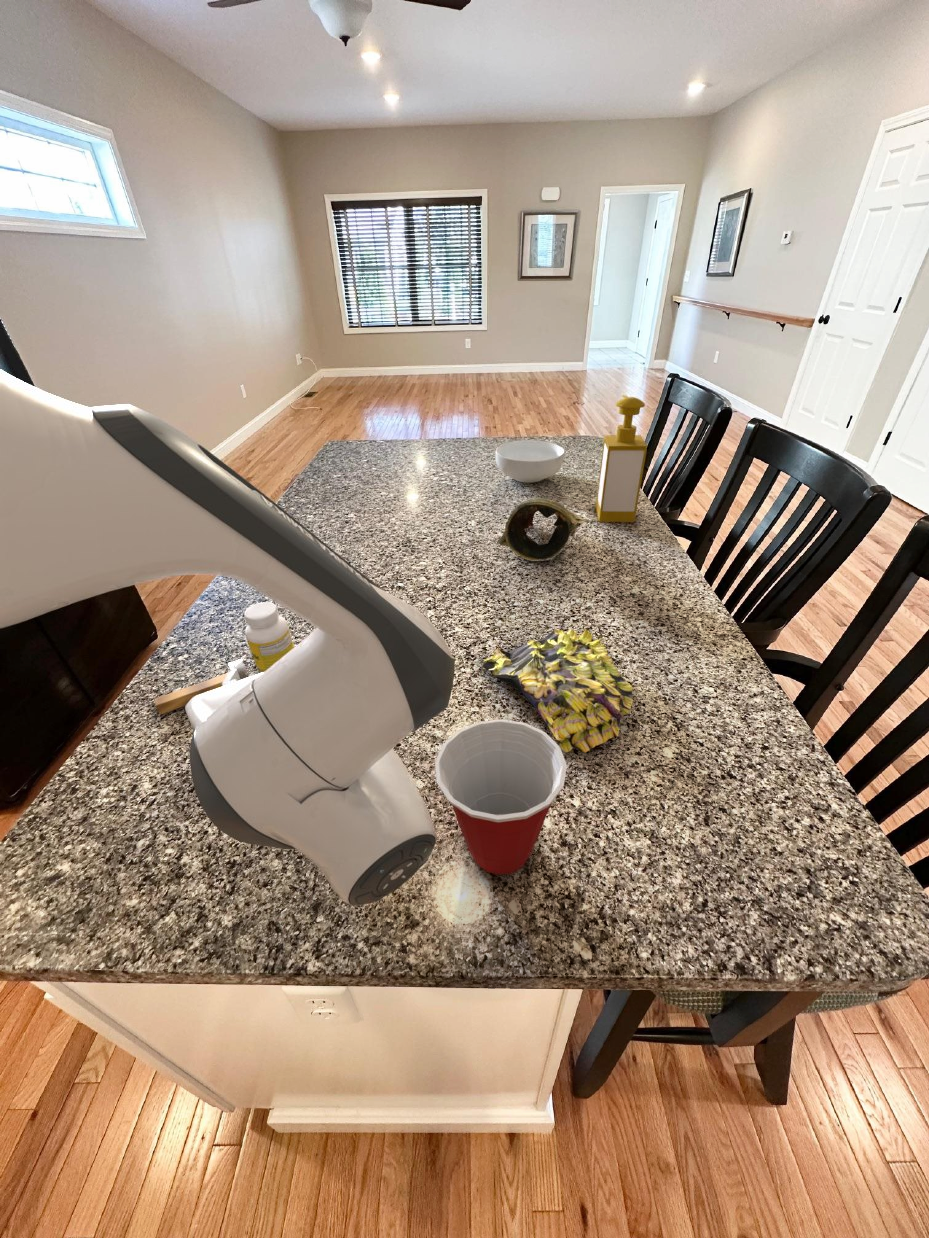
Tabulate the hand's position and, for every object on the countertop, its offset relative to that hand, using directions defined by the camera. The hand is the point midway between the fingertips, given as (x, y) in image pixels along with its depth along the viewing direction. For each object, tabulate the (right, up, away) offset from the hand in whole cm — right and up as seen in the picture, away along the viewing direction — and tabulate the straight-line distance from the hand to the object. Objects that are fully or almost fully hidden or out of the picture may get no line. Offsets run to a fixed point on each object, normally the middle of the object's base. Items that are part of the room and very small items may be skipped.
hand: (281, 650), depth 56 cm
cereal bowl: (+36, +39, +74) cm, 91 cm away
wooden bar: (-14, -7, +11) cm, 19 cm away
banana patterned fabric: (+32, -6, +9) cm, 34 cm away
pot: (+35, +16, +41) cm, 57 cm away
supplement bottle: (-6, -4, +15) cm, 16 cm away
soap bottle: (+52, +27, +56) cm, 81 cm away
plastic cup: (+23, -18, -7) cm, 30 cm away
